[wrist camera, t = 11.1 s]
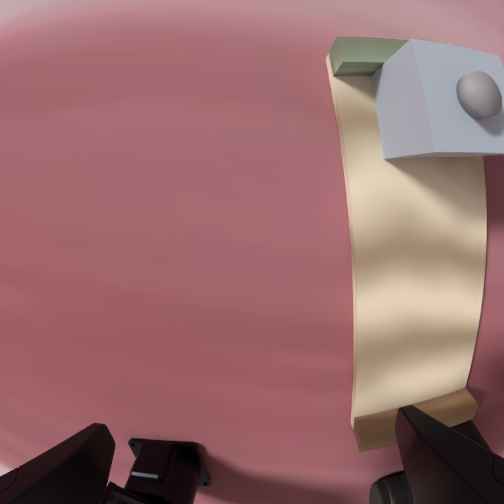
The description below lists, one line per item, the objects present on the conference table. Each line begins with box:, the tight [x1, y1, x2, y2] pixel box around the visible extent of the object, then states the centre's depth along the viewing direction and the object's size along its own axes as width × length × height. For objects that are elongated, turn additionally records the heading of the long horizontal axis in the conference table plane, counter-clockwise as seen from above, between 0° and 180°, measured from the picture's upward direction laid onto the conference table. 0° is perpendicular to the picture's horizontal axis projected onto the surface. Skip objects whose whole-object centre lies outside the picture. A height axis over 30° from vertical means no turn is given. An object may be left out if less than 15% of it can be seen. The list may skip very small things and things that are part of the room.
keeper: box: [370, 39, 504, 159], centre depth 12 cm, size 5×6×7 cm
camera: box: [369, 419, 494, 504], centre depth 18 cm, size 14×11×10 cm
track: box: [326, 37, 487, 452], centre depth 17 cm, size 26×10×4 cm, turn 8°
